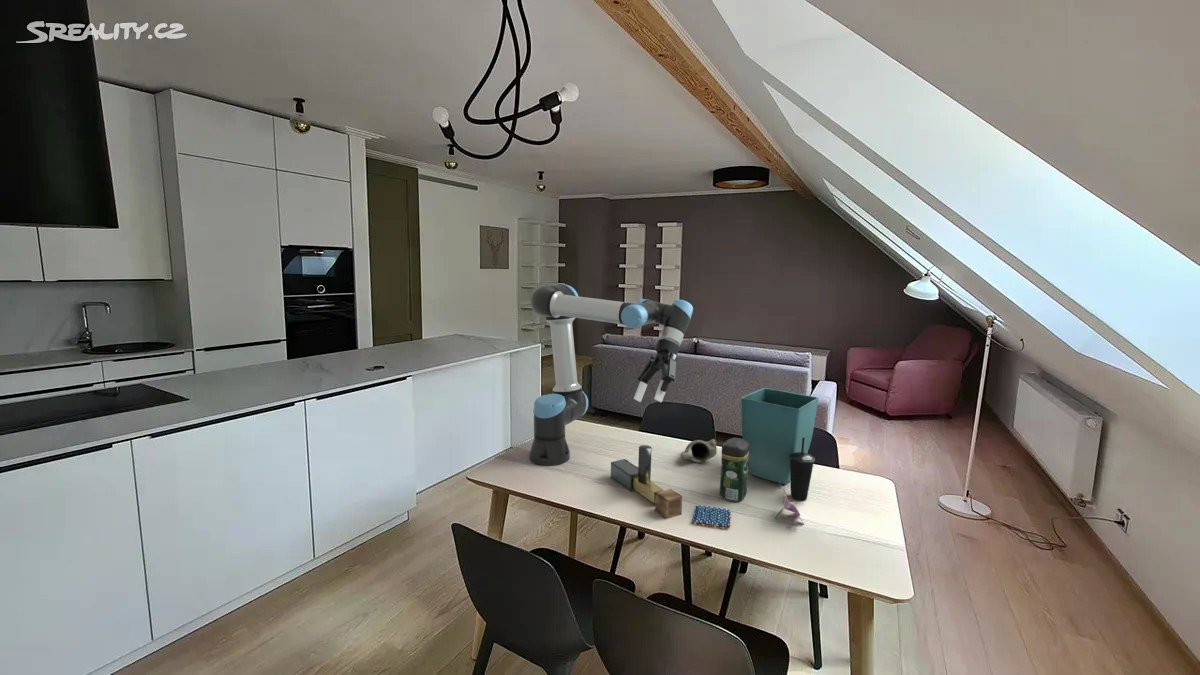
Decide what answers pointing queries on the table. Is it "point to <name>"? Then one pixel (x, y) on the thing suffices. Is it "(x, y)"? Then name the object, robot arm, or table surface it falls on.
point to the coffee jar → (734, 469)
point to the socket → (668, 503)
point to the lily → (789, 506)
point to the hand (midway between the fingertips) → (646, 400)
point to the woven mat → (711, 517)
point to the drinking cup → (800, 473)
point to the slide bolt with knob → (645, 475)
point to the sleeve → (623, 473)
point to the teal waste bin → (776, 430)
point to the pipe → (700, 450)
